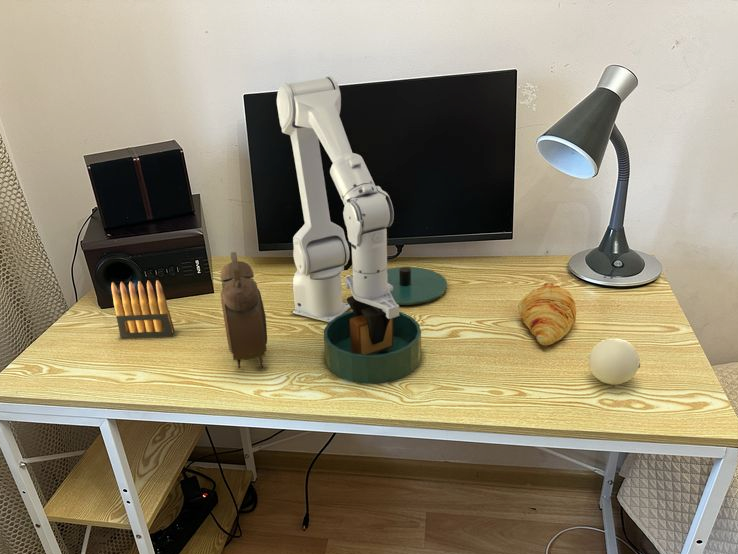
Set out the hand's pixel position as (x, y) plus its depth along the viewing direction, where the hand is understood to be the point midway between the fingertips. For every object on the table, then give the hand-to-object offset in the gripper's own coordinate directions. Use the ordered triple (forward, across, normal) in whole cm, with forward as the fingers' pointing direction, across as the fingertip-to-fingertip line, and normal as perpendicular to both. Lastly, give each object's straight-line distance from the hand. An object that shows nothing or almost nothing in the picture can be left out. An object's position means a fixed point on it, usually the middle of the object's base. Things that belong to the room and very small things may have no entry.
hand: (372, 337), depth 112 cm
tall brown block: (+2, 0, 0) cm, 2 cm away
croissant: (+4, -7, -33) cm, 34 cm away
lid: (+3, +20, -20) cm, 28 cm away
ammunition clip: (+4, +32, +33) cm, 46 cm away
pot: (+4, 0, 0) cm, 4 cm away
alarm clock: (+4, +12, +19) cm, 23 cm away
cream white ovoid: (+4, -26, -29) cm, 39 cm away
